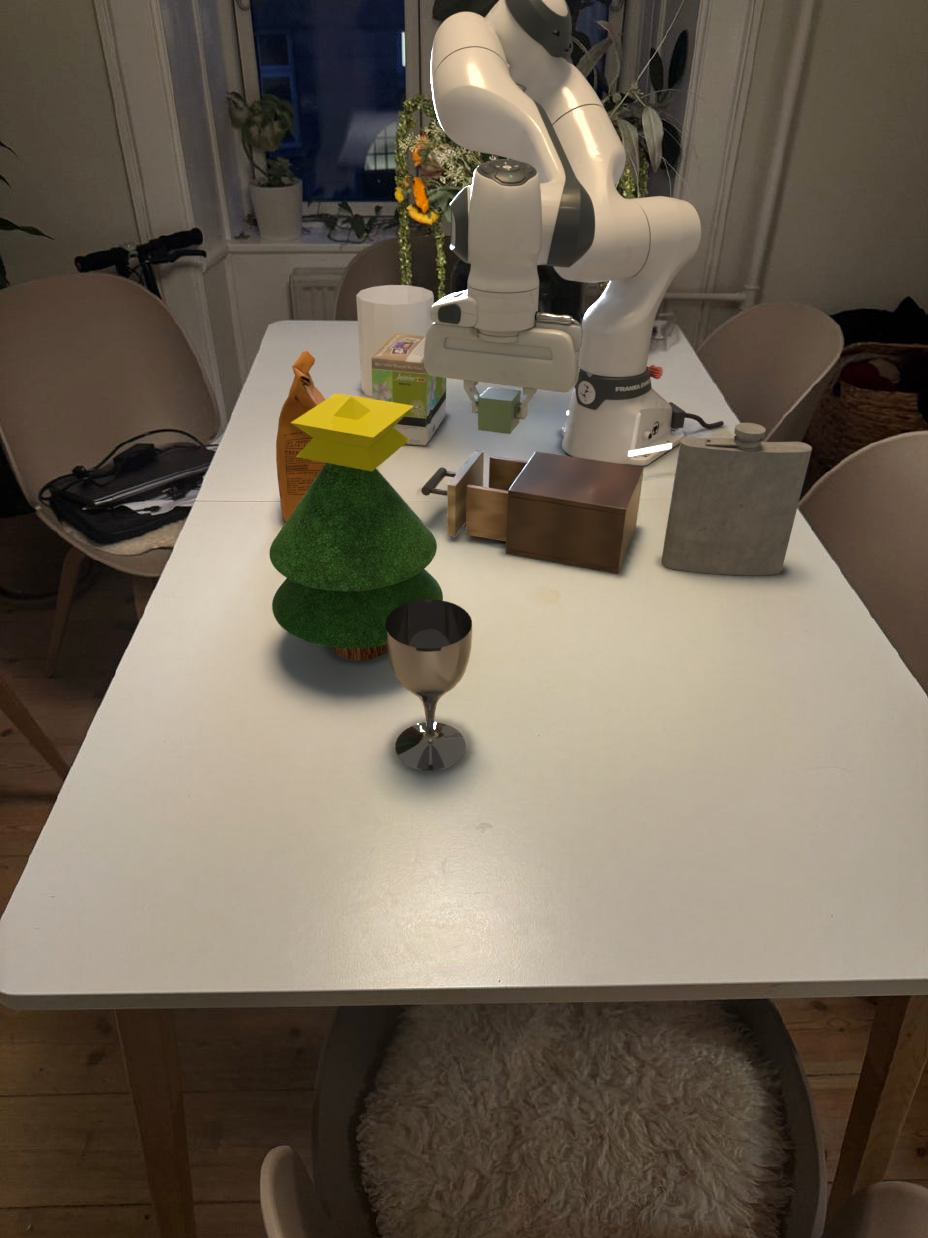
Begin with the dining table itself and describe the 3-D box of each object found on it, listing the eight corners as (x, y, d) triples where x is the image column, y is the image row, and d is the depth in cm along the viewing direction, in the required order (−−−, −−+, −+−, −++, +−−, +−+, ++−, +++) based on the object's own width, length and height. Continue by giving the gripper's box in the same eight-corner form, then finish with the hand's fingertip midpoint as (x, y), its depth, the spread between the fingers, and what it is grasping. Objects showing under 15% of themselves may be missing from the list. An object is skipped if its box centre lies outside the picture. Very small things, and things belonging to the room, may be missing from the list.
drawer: (414, 529, 124) (413, 479, 120) (444, 493, 134) (444, 445, 129) (547, 553, 119) (551, 501, 114) (569, 513, 129) (573, 464, 124)
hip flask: (778, 563, 119) (813, 422, 108) (785, 578, 116) (821, 435, 104) (660, 556, 120) (682, 416, 109) (662, 571, 117) (685, 429, 106)
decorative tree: (330, 585, 113) (309, 353, 96) (468, 618, 107) (472, 377, 90) (245, 668, 98) (203, 412, 82) (399, 712, 93) (388, 446, 76)
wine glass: (390, 721, 91) (384, 600, 83) (466, 718, 92) (468, 597, 83) (391, 775, 85) (385, 650, 76) (473, 771, 85) (476, 646, 77)
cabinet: (505, 553, 120) (508, 490, 115) (531, 511, 131) (535, 450, 126) (618, 574, 116) (626, 509, 111) (635, 528, 127) (644, 466, 122)
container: (371, 374, 181) (367, 283, 171) (440, 378, 180) (440, 286, 169) (354, 398, 169) (349, 302, 159) (428, 403, 168) (427, 306, 158)
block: (488, 418, 120) (488, 386, 118) (519, 422, 119) (521, 390, 117) (477, 430, 117) (478, 397, 114) (510, 434, 116) (511, 401, 113)
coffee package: (351, 488, 137) (341, 346, 124) (345, 526, 127) (334, 376, 114) (287, 488, 136) (271, 346, 124) (275, 526, 126) (257, 376, 114)
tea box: (428, 447, 150) (427, 361, 142) (372, 442, 152) (367, 356, 144) (447, 415, 163) (447, 334, 154) (395, 411, 164) (392, 331, 156)
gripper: (589, 310, 109) (580, 416, 117) (435, 294, 115) (436, 397, 122) (578, 323, 104) (569, 433, 112) (418, 306, 110) (420, 413, 117)
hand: (499, 414), depth 117 cm, fingers closed on block, 4 cm apart
